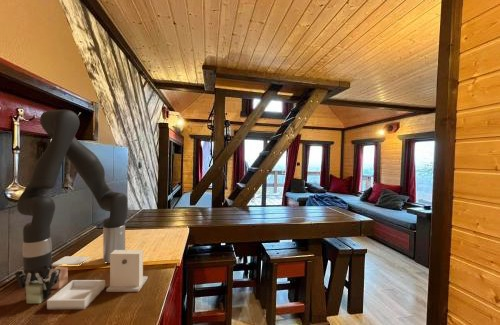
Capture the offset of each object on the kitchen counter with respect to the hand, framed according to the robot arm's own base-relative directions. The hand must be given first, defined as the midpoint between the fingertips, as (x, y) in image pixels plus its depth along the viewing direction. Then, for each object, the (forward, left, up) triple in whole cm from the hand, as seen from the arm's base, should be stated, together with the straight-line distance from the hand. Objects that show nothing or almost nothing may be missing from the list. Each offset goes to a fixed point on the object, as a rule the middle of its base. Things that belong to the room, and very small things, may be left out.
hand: (38, 298), depth 83 cm
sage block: (0, 0, 0) cm, 0 cm away
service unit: (-9, +27, -1) cm, 28 cm away
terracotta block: (-9, 0, -1) cm, 9 cm away
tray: (-1, +13, -1) cm, 13 cm away
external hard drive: (-27, -7, -1) cm, 28 cm away
